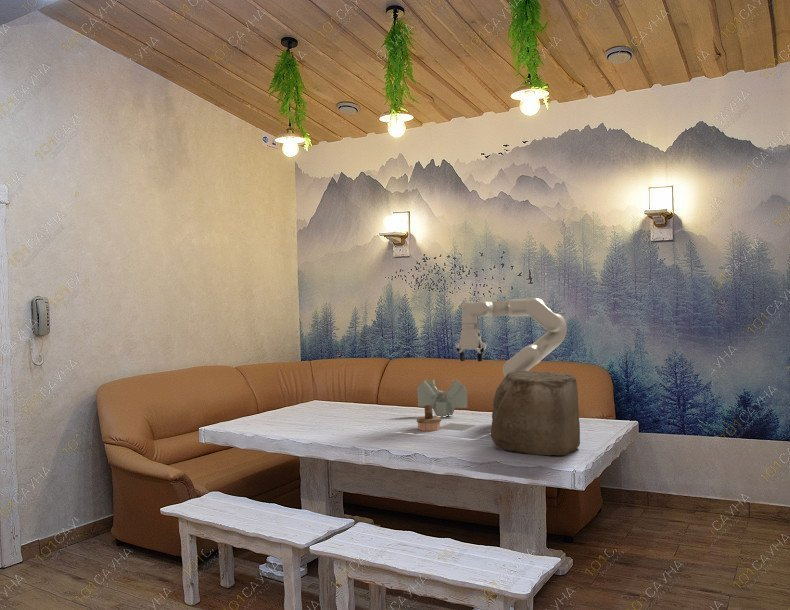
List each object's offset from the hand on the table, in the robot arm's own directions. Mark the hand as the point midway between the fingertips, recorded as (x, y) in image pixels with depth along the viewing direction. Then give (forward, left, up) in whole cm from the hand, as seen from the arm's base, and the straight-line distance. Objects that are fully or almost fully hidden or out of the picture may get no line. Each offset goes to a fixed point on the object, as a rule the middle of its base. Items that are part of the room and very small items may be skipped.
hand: (471, 361), depth 319 cm
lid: (+8, +29, -26) cm, 40 cm away
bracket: (+22, -7, -31) cm, 38 cm away
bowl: (+8, +29, -30) cm, 43 cm away
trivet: (-1, +19, -30) cm, 36 cm away
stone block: (-50, +44, -31) cm, 73 cm away
